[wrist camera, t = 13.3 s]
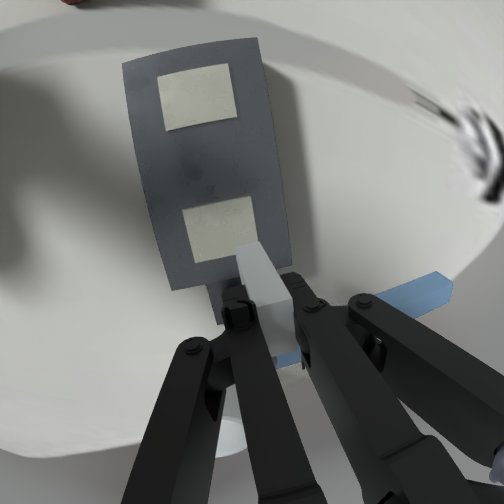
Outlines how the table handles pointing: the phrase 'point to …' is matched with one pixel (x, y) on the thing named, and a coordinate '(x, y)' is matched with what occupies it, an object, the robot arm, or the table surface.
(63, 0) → the mechanical component
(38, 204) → the table surface
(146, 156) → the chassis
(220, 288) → the pivot post
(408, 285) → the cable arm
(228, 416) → the cup
